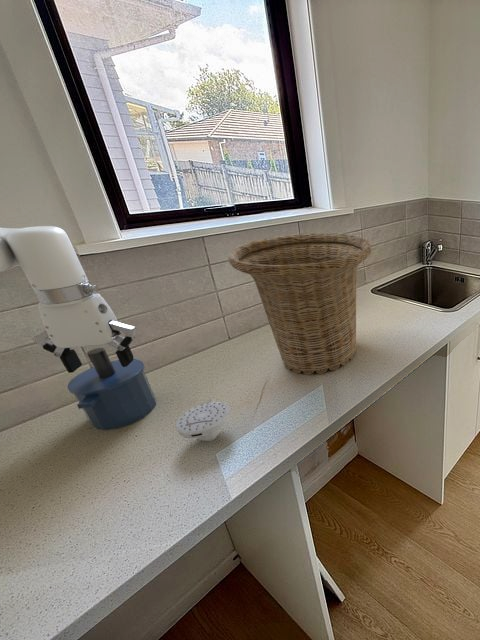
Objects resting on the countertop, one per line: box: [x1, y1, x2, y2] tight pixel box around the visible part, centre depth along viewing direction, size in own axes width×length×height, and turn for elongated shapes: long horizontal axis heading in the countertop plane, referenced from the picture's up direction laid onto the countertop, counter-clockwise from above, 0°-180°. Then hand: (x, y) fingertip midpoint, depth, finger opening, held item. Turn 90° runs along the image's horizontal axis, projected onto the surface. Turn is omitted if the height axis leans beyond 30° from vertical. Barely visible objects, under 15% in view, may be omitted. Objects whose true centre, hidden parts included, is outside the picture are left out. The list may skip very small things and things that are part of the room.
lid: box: [66, 347, 146, 395], centre depth 72 cm, size 13×13×7 cm
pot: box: [73, 370, 157, 431], centre depth 76 cm, size 12×17×10 cm
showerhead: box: [175, 397, 232, 442], centre depth 70 cm, size 9×7×10 cm
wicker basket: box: [227, 232, 372, 376], centre depth 94 cm, size 35×35×33 cm
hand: (102, 366), depth 72 cm, fingers open, 9 cm apart
